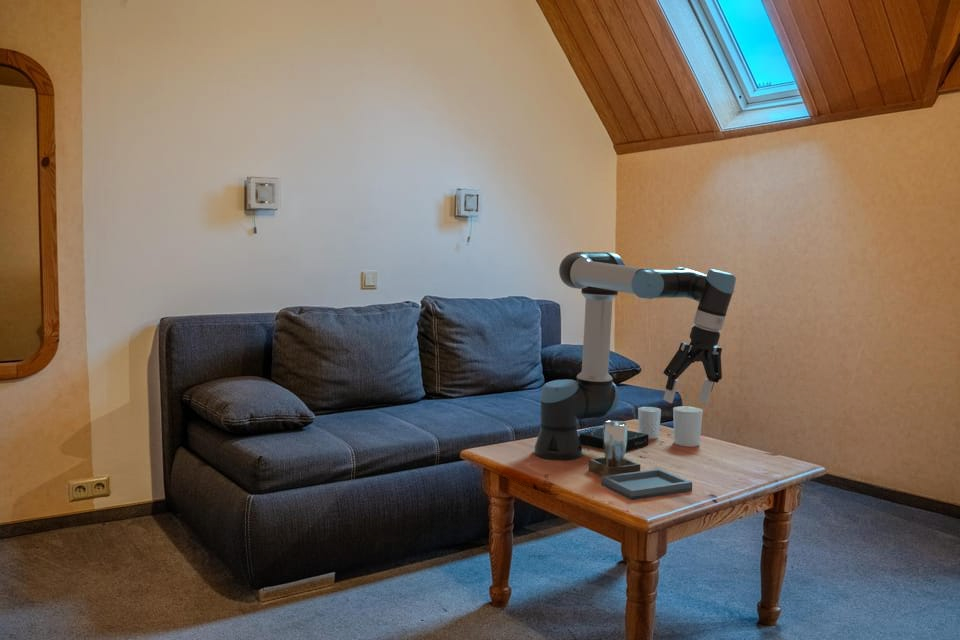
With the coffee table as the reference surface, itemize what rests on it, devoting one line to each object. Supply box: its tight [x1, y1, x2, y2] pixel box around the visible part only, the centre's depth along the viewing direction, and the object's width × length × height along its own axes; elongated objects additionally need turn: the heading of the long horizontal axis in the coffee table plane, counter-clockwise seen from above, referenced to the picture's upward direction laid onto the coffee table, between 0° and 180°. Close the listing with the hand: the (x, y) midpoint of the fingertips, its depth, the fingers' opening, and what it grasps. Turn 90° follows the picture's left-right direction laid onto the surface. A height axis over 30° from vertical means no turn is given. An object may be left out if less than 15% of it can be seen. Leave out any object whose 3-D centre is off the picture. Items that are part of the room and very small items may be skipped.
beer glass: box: [603, 420, 628, 467], centre depth 217 cm, size 7×7×15 cm
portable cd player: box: [578, 427, 649, 453], centre depth 252 cm, size 16×17×4 cm
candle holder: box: [672, 405, 704, 448], centre depth 254 cm, size 10×10×12 cm
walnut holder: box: [588, 456, 641, 477], centre depth 218 cm, size 11×11×4 cm
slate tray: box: [600, 468, 693, 501], centre depth 204 cm, size 14×20×2 cm
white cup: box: [637, 406, 662, 440], centre depth 263 cm, size 8×8×10 cm
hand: (685, 402), depth 203 cm, fingers open, 13 cm apart
